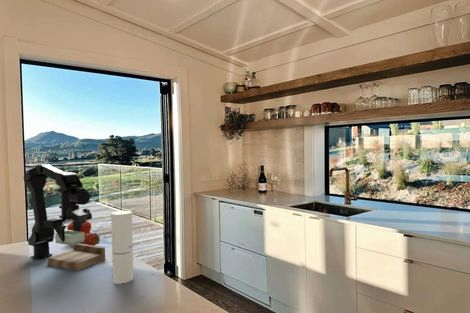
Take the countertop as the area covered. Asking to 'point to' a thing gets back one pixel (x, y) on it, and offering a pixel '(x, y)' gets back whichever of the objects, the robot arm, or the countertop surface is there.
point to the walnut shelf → (78, 257)
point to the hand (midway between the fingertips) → (69, 239)
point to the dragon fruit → (91, 239)
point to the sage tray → (71, 237)
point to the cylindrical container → (122, 246)
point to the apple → (85, 227)
